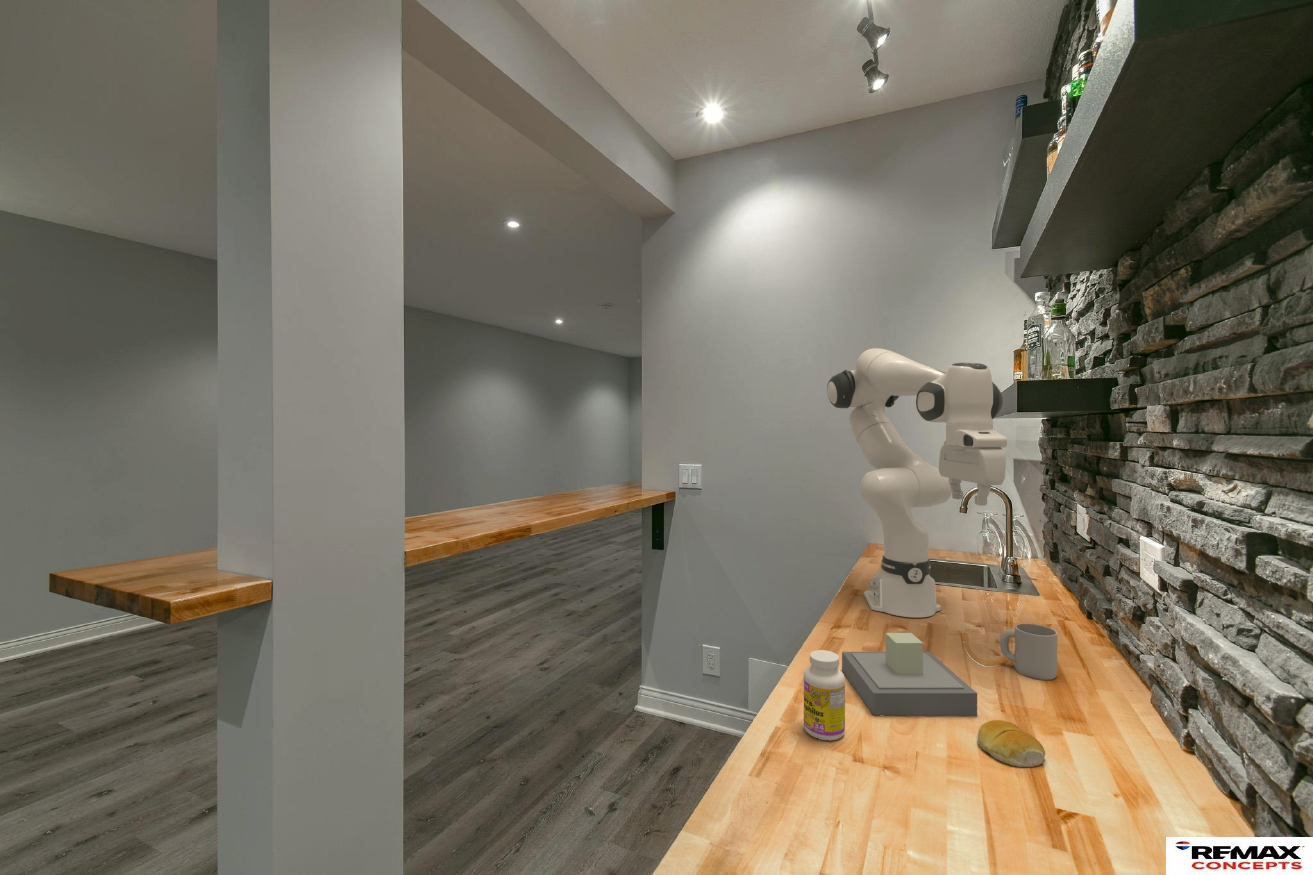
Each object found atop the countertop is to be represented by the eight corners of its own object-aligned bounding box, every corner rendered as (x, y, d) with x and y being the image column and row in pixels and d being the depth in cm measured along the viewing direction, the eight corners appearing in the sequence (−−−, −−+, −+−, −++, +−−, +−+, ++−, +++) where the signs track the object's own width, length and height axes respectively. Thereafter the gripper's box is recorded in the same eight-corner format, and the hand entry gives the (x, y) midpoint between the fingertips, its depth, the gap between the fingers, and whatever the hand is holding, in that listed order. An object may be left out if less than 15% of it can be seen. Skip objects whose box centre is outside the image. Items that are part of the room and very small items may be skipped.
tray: (842, 670, 117) (842, 650, 117) (929, 670, 117) (929, 650, 117) (873, 715, 99) (873, 691, 99) (977, 715, 99) (977, 691, 99)
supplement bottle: (795, 725, 96) (795, 651, 96) (826, 717, 99) (826, 644, 99) (821, 746, 90) (821, 666, 90) (854, 736, 93) (853, 659, 92)
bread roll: (1010, 734, 94) (1010, 710, 94) (1055, 766, 85) (1055, 740, 85) (964, 738, 93) (964, 714, 92) (1005, 771, 84) (1005, 744, 84)
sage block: (885, 663, 111) (885, 633, 110) (911, 663, 111) (911, 632, 110) (896, 674, 106) (896, 642, 105) (923, 674, 106) (923, 642, 105)
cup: (1054, 684, 111) (1054, 639, 110) (995, 669, 117) (996, 627, 117) (1059, 671, 116) (1059, 628, 116) (1003, 658, 123) (1003, 617, 122)
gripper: (931, 436, 132) (931, 495, 132) (980, 439, 111) (979, 509, 112) (958, 436, 132) (958, 495, 132) (1012, 438, 111) (1011, 508, 112)
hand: (968, 501), depth 122 cm, fingers open, 8 cm apart
